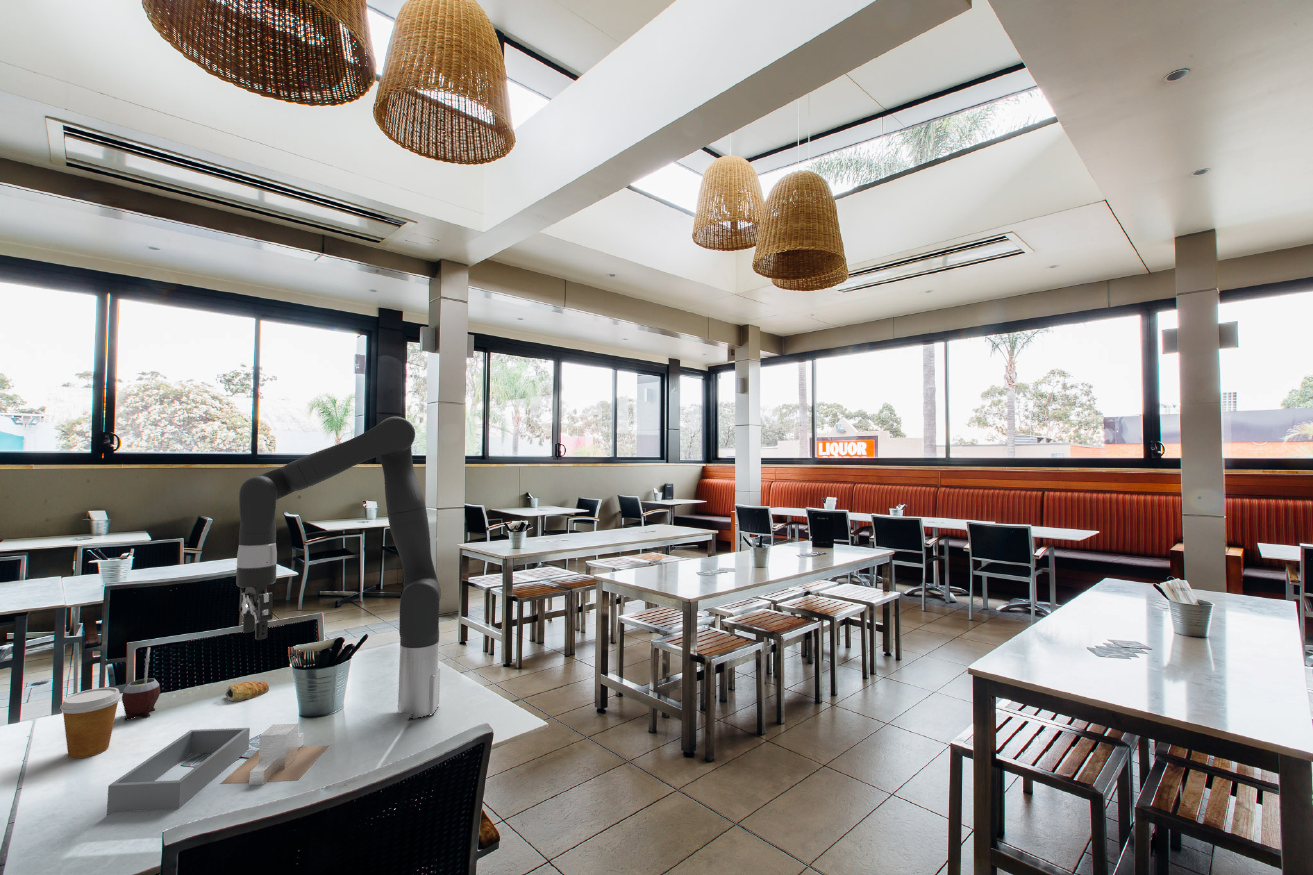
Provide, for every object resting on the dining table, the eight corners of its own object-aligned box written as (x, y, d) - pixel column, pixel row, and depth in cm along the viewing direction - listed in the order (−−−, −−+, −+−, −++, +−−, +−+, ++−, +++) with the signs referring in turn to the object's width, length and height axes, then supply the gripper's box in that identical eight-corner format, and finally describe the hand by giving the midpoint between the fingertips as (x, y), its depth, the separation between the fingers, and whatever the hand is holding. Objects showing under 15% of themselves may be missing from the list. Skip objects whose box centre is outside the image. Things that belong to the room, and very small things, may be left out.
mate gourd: (133, 723, 140) (136, 659, 140) (111, 718, 142) (114, 655, 143) (167, 710, 147) (170, 650, 148) (146, 706, 149) (149, 646, 150)
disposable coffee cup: (129, 745, 129) (132, 690, 130) (74, 766, 120) (77, 706, 121) (101, 738, 132) (104, 684, 133) (46, 758, 123) (49, 700, 124)
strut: (285, 745, 127) (286, 713, 127) (309, 744, 128) (310, 712, 128) (242, 785, 111) (243, 748, 112) (270, 784, 112) (271, 747, 112)
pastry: (262, 687, 163) (263, 673, 163) (273, 693, 159) (274, 679, 159) (222, 698, 155) (223, 683, 156) (233, 704, 152) (234, 689, 152)
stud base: (329, 752, 127) (330, 722, 127) (297, 787, 113) (298, 754, 114) (260, 755, 126) (261, 725, 126) (219, 791, 112) (221, 758, 112)
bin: (189, 758, 124) (190, 729, 124) (248, 756, 125) (249, 727, 125) (106, 820, 102) (108, 785, 103) (178, 816, 104) (180, 782, 104)
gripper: (286, 565, 132) (284, 637, 131) (265, 558, 141) (263, 626, 140) (247, 569, 126) (245, 645, 126) (227, 562, 135) (225, 633, 135)
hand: (254, 635), depth 133 cm, fingers open, 8 cm apart
